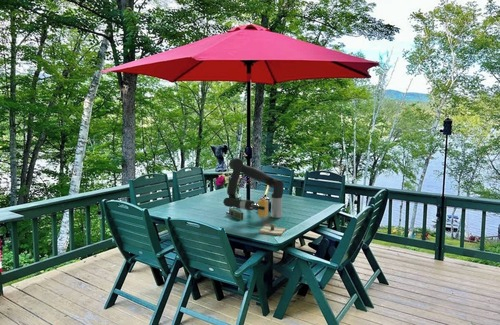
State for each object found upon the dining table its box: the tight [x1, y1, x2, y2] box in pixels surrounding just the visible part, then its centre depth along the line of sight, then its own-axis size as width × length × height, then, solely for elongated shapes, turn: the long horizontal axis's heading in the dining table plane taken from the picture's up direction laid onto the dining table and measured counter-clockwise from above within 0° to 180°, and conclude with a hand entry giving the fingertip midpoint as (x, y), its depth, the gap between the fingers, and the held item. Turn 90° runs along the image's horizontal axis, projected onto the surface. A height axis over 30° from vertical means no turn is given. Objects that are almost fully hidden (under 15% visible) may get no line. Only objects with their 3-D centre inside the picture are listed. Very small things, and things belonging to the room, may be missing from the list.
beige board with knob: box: [258, 223, 287, 237], centre depth 248 cm, size 14×17×6 cm
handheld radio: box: [225, 207, 244, 221], centre depth 289 cm, size 7×3×25 cm
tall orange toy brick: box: [257, 198, 269, 218], centre depth 250 cm, size 6×6×13 cm
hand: (266, 207), depth 248 cm, fingers closed on tall orange toy brick, 5 cm apart
